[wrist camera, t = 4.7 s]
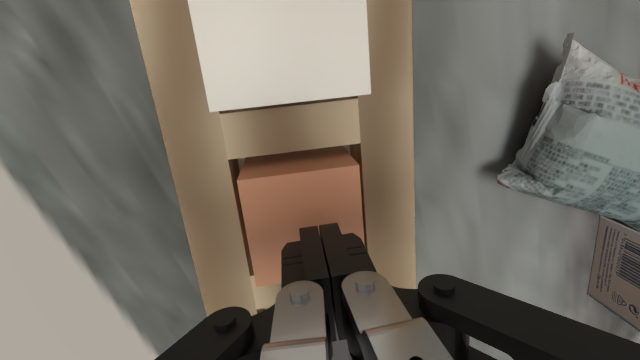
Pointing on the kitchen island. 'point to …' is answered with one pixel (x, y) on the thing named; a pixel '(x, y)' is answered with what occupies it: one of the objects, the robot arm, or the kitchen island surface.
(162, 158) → the kitchen island surface
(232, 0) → the white square block
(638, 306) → the juice carton
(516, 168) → the packaged food
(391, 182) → the light brown rectangular frame
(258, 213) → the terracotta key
